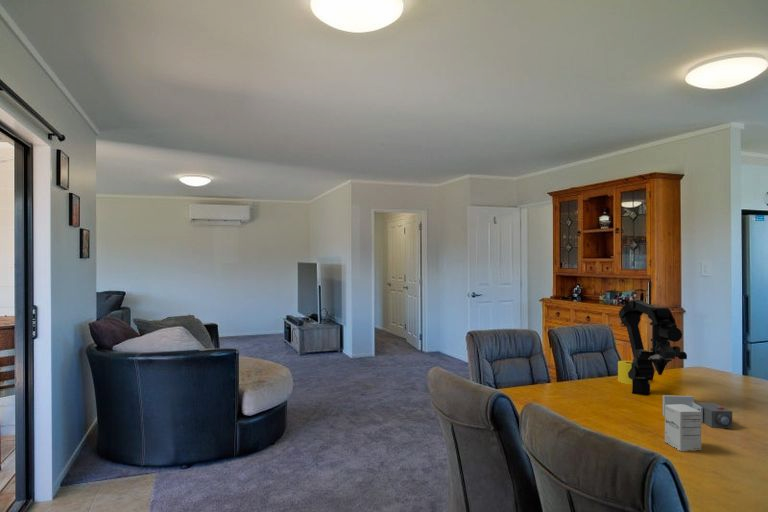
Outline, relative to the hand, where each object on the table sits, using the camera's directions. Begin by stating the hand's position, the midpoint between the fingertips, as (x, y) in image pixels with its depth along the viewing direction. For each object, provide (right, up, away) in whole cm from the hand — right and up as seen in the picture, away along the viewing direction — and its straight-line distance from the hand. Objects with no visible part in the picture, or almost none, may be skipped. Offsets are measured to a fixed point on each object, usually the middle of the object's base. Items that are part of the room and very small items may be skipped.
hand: (659, 374), depth 193 cm
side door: (-3, -12, -19) cm, 22 cm away
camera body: (+6, -12, -23) cm, 27 cm away
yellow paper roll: (+5, -12, +34) cm, 36 cm away
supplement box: (-19, -12, -44) cm, 49 cm away
